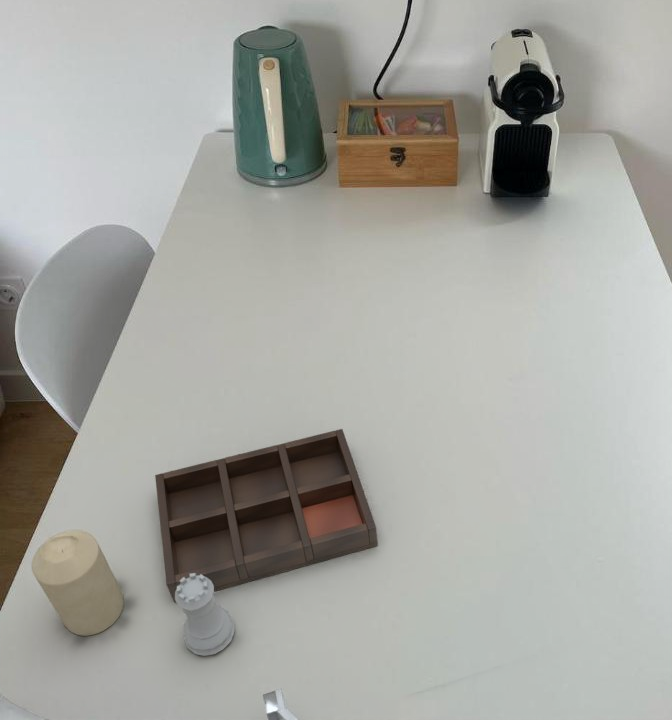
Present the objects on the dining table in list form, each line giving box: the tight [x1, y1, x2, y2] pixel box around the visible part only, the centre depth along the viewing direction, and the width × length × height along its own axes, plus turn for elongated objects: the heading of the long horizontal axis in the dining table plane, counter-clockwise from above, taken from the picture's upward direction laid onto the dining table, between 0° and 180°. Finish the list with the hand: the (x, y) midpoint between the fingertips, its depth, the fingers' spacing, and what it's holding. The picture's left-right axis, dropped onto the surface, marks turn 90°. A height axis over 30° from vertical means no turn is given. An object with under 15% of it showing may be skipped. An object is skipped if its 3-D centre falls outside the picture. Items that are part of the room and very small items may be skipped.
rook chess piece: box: [175, 573, 235, 657], centre depth 70 cm, size 4×4×8 cm
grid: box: [154, 428, 379, 603], centre depth 81 cm, size 20×13×3 cm
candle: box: [31, 529, 125, 637], centre depth 72 cm, size 6×6×10 cm
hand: (212, 713), depth 62 cm, fingers open, 8 cm apart
